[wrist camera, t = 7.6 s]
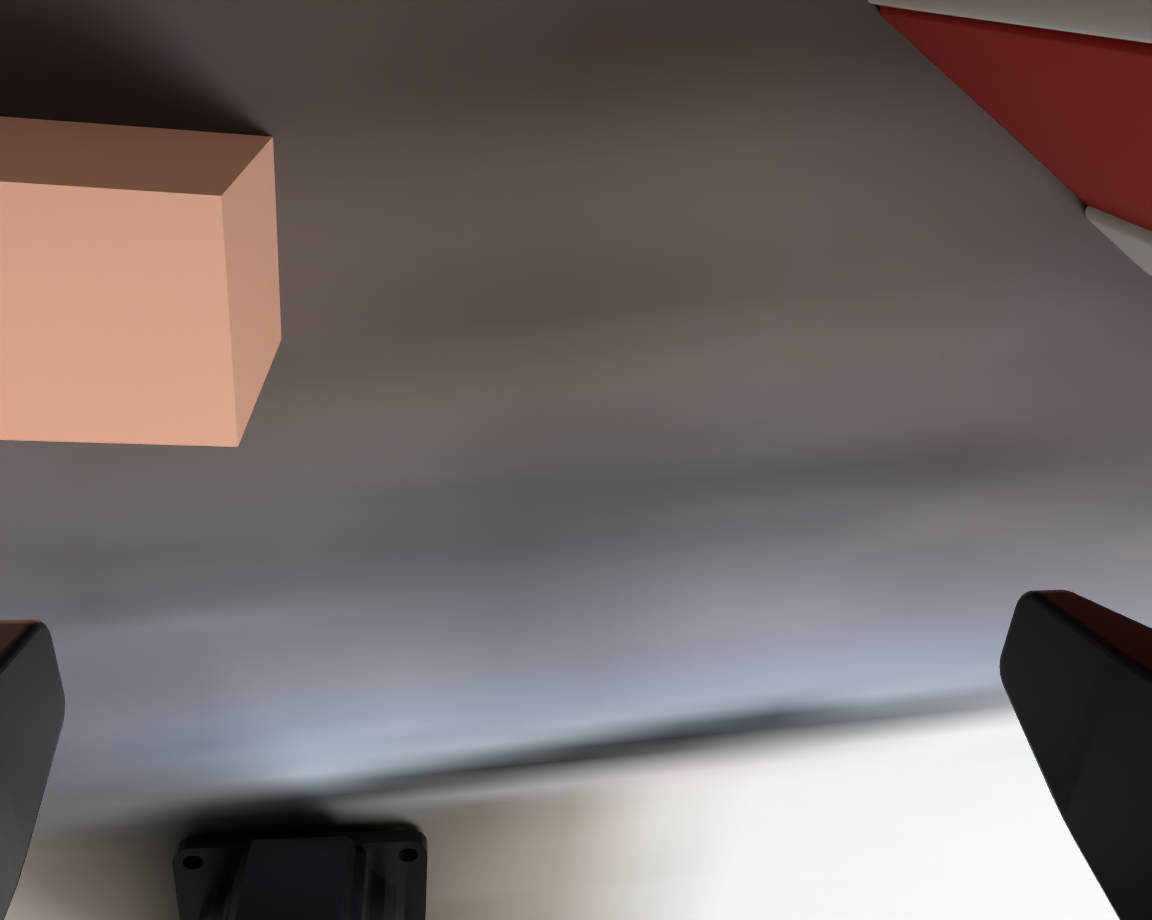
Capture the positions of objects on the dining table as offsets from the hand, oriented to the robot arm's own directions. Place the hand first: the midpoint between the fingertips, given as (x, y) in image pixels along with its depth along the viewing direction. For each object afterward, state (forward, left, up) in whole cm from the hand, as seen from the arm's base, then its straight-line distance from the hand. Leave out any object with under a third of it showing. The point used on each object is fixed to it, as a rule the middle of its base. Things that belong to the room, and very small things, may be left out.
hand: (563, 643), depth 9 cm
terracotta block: (0, +7, -13) cm, 14 cm away
